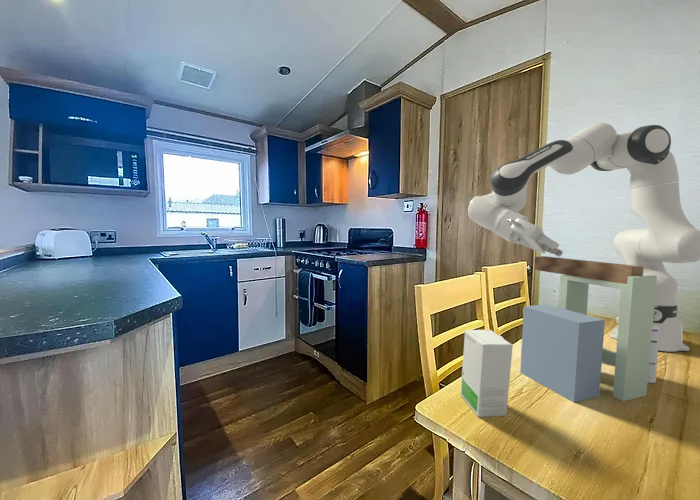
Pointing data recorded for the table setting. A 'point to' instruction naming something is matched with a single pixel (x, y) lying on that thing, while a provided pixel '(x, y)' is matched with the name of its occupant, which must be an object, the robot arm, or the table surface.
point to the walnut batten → (588, 269)
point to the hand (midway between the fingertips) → (559, 250)
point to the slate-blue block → (562, 350)
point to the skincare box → (486, 372)
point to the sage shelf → (621, 328)
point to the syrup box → (653, 355)
